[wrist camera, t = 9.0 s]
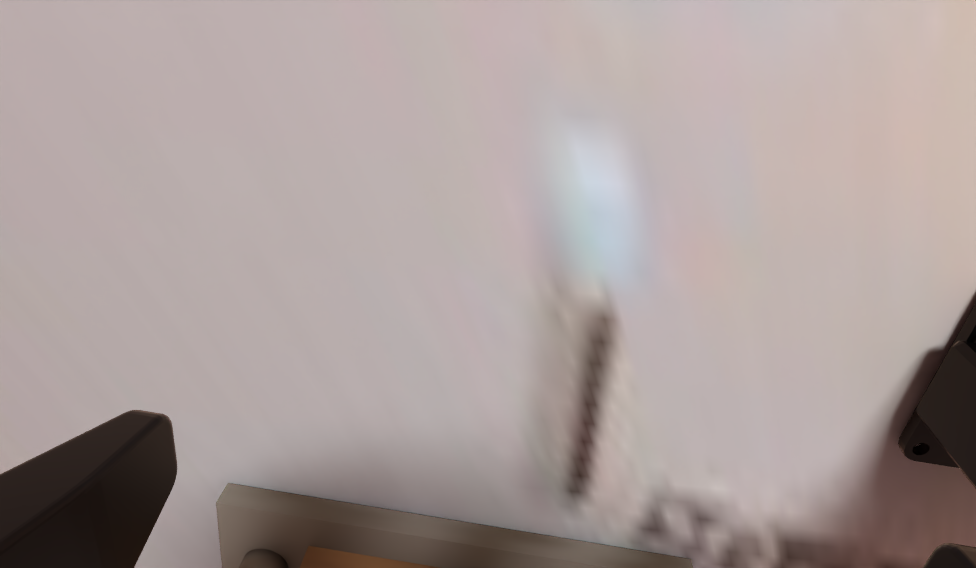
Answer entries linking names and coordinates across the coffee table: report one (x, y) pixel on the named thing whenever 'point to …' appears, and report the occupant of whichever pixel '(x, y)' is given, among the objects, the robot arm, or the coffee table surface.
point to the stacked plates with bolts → (391, 539)
